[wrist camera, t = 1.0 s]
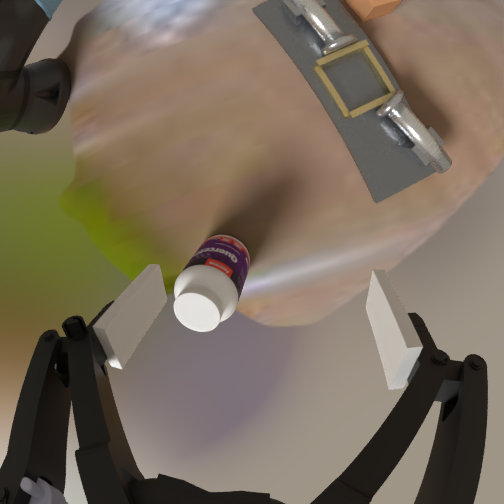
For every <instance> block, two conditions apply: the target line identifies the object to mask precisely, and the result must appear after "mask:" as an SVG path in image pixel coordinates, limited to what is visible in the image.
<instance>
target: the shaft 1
mask: <svg viewBox="0 0 504 504" xmlns="http://www.w3.org/2000/svg"><path fill="white" fill-rule="evenodd" d="M282 2H283V11H284V12H285V13H286V14H287V15H288V16H289V17H290V19H291V20H292V21H293V22H294V23H295V25H298V24H300V23H302V22H305V21H308V22H309V23H310V25H311V26H312V27H313V28H314V30H315V31H316V32H317V33H318V35H319V36H320V37H321V39H322V40H323V41H324V43H325V44H326V45H325V46H324V47H323V48H322V49H321V51H322V53H323V54H324V56H327V55H329V54H331V53H334V52H336V51H338V50H341V49H343V48H345V47H348V46H350V45H353V44H355V43H356V42H357V41H358V39H357V37H356V36H355V35H354V34H347V35H345V34H344V33H343V31H342V30H341V29H340V27H339V26H338V25H337V24H336V22H335V21H334V20H333V19H332V17H331V16H330V15H329V14H328V13H327V11H326V10H325V7H326V3H325V2H324V1H323V0H282Z"/></svg>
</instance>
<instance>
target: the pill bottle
mask: <svg viewBox="0 0 504 504" xmlns="http://www.w3.org/2000/svg"><path fill="white" fill-rule="evenodd" d="M249 267H250V256H249V253H248V250H247V249H246V247H245V246H244V245H243V243H242V242H240V241H239V240H238V239H236V238H234V237H232V236H228V235H216V236H213V237H210V238H209V239H207V240H206V241H205V242H204V243H203V244H202V245H201V247H200V248H199V249H198V251H197V252H196V253H195V255H194V256H193V257H192V259H191V260H190V261H189V263H188V264H187V265H186V267H185V268H184V269H183V271H182V272H181V273H180V275H179V276H178V278H177V280H176V282H175V287H174V293H175V298H176V300H175V302H174V312H175V314H176V317H177V318H178V319H179V321H180V322H181V323H182V324H183V325H185V326H186V327H188V328H189V329H192V330H195V331H199V332H206V331H210V330H213V329H214V328H216V326H217V325H218V324H219V322H221V321H223V320H225V319H227V318H229V317H230V316H231V315H232V314H233V312H234V311H235V309H236V307H237V304H238V301H239V298H240V295H241V292H242V289H243V286H244V282H245V279H246V276H247V273H248V270H249Z"/></svg>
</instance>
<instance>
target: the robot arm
mask: <svg viewBox="0 0 504 504" xmlns="http://www.w3.org/2000/svg"><path fill="white" fill-rule="evenodd" d="M61 1H62V0H0V132H4V131H8V130H17V131H21V132H26V133H28V134H41V133H45V132H48V131H50V130H51V129H52V128H53V127H54V126H55V125H56V124H57V123H58V121H59V120H60V118H61V116H62V115H63V113H64V110H65V108H66V105H67V102H68V98H69V93H70V74H69V70H68V68H67V66H66V64H65V63H64V62H63V61H61V60H59V59H51V58H48V59H43V60H41V61H39V62H36V63H32V64H28V65H26V66H24V64H25V63H26V60H27V58H28V57H29V55H30V53H31V51H32V49H33V47H34V45H35V44H36V41H37V40H38V38H39V36H40V35H41V33H42V31H43V30H44V28H45V27H46V25H47V23H48V22H49V21H50V20H51V19H52V15H53V13H54V12H55V11H56V9H57V7H58V6H59V4H60V3H61ZM166 301H167V297H166V292H165V288H164V284H163V279H162V274H161V270H160V265H158V264H149V265H148V266H147V267H146V268H145V269H144V270H143V271H142V272H141V273H140V274H139V276H138V277H137V278H136V279H135V280H134V281H133V282H132V283H131V284H130V285H129V286H128V287H127V288H126V290H125V291H124V292H123V293H122V294H121V295H120V296H119V297H118V298H117V299H116V301H112V302H110V303H109V304H107V305H106V306H105V307H104V308H103V309H102V310H101V312H99V314H98V316H96V317H95V318H94V319H93V320H92V321H91V323H90V324H89V325H88V326H87V327H86V324H85V322H84V320H83V318H82V317H81V316H77V315H76V316H72V317H69V318H68V319H66V320H65V321H64V322H63V324H62V328H63V330H64V332H65V334H66V336H67V337H60V336H59V334H58V332H57V331H56V330H48V331H46V332H44V333H43V334H42V335H41V336H40V338H39V341H38V343H37V346H36V348H35V351H34V354H33V356H32V359H31V362H30V365H29V368H28V371H27V373H26V377H25V380H24V383H23V386H22V389H21V393H20V397H19V400H18V404H17V408H16V412H15V416H14V420H13V424H12V429H11V434H10V439H9V446H8V451H7V455H6V457H5V460H4V462H3V464H2V466H1V468H0V504H68V503H67V502H66V501H65V497H64V496H63V494H64V488H65V477H66V450H67V436H68V425H69V416H70V415H69V414H70V407H71V400H72V406H73V413H74V420H75V425H76V431H77V437H78V442H79V450H76V451H75V457H76V462H77V466H78V470H79V474H80V478H81V482H82V485H83V489H84V492H85V495H86V498H87V501H88V504H285V503H283V502H280V501H278V500H275V499H271V498H270V494H269V493H257V492H246V491H232V492H208V491H206V490H203V489H201V488H199V487H196V486H194V485H193V484H190V483H188V482H186V481H184V480H180V479H176V478H173V477H169V476H166V475H162V474H159V475H158V477H157V478H150V479H145V478H144V476H143V475H142V474H141V472H140V471H139V469H138V467H137V465H136V462H135V460H134V457H133V455H132V452H131V449H130V447H129V444H128V442H127V439H126V436H125V433H124V430H123V427H122V424H121V421H120V417H119V414H118V411H117V407H116V404H115V400H114V397H113V393H112V389H111V385H110V381H109V377H108V373H107V368H106V366H105V364H104V363H105V361H106V360H107V359H108V361H109V363H110V365H111V366H112V367H116V368H120V369H123V368H124V366H125V364H126V363H127V361H128V360H129V358H130V357H131V355H132V353H133V351H134V350H135V349H136V347H137V345H138V344H139V342H140V340H141V339H142V338H143V336H144V334H145V333H146V332H147V330H148V329H149V327H150V326H151V324H152V323H153V321H154V320H155V318H156V317H157V315H158V314H159V312H160V311H161V309H162V308H163V306H164V305H165V303H166ZM366 311H367V314H368V317H369V320H370V323H371V327H372V330H373V333H374V337H375V340H376V343H377V347H378V350H379V353H380V357H381V361H382V364H383V368H384V372H385V376H386V380H387V384H388V388H389V390H390V389H400V388H404V386H405V384H406V382H407V380H408V383H409V385H408V387H407V388H406V390H405V391H404V393H403V395H402V396H401V398H400V399H399V401H398V402H397V404H396V405H395V407H394V408H393V410H392V411H391V413H390V414H389V416H388V417H387V419H386V420H385V421H384V423H383V424H382V425H381V427H380V428H379V430H378V431H377V432H376V434H375V435H374V436H373V437H372V439H371V440H370V441H369V443H368V444H367V445H366V446H365V448H364V449H363V450H362V451H361V452H360V454H359V455H358V456H357V457H356V458H355V459H354V461H353V462H352V463H351V464H350V465H349V466H348V467H347V469H346V470H345V471H344V472H343V473H342V474H341V475H340V476H339V477H338V478H337V479H335V481H333V482H332V483H331V484H330V485H329V486H328V487H327V488H326V489H325V490H324V491H323V492H322V493H321V494H320V495H319V496H318V497H317V498H316V499H315V500H314V501H313V502H311V503H310V504H369V503H370V502H371V500H372V497H373V496H374V495H375V493H376V492H377V491H378V490H379V488H380V487H381V486H382V484H383V483H384V482H385V481H386V479H387V478H388V476H389V475H390V474H391V472H392V471H393V469H394V468H395V467H396V465H397V464H398V462H399V461H400V459H401V458H402V456H403V455H404V453H405V452H406V450H407V448H408V447H409V445H410V444H411V442H412V440H413V439H414V437H415V435H416V434H417V432H418V430H419V428H420V427H421V425H422V423H423V421H424V419H425V418H426V415H427V414H428V412H429V410H430V408H431V406H432V404H433V402H434V401H440V402H442V403H441V410H440V415H439V420H438V425H437V430H436V434H435V439H434V443H433V447H432V451H431V454H430V458H429V462H428V465H427V468H426V471H425V475H424V478H423V481H422V484H421V487H420V489H419V492H418V495H417V497H416V500H415V502H414V504H474V500H475V496H476V492H477V488H478V483H479V478H480V473H481V468H482V461H483V455H484V448H485V438H486V428H487V409H488V406H487V405H488V380H487V365H486V362H485V361H484V359H483V358H481V357H480V356H478V355H476V354H471V355H468V356H467V357H466V358H465V360H464V361H463V362H461V361H454V360H450V358H449V356H448V355H447V354H446V353H445V352H443V351H442V350H438V349H437V347H436V345H435V343H434V341H433V339H432V337H431V335H430V333H429V332H428V329H427V327H426V326H425V323H424V321H423V320H422V318H421V317H420V316H419V315H418V314H416V313H407V312H406V310H405V308H404V306H403V304H402V302H401V300H400V298H399V296H398V294H397V292H396V290H395V288H394V287H393V285H392V283H391V281H390V279H389V277H388V275H387V274H386V272H385V270H373V271H372V277H371V283H370V288H369V293H368V299H367V303H366Z"/></svg>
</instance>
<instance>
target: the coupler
mask: <svg viewBox="0 0 504 504" xmlns="http://www.w3.org/2000/svg"><path fill="white" fill-rule="evenodd" d="M345 1H346V2H347V3H348V4H349V5H350V7H351V8H352V9H353V10H354V11H355V13H356V14H357V15H358V16H359V18H360V19H361V20H362V21H363V22H365V21H368V20H371V19H374V18H377V17H380V16H384V15H387V14H390V13H391V11H392V10H393V9H394V8H395V7H396V6H397V5H398V4H399V3H400V2H401V1H402V0H345Z"/></svg>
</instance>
